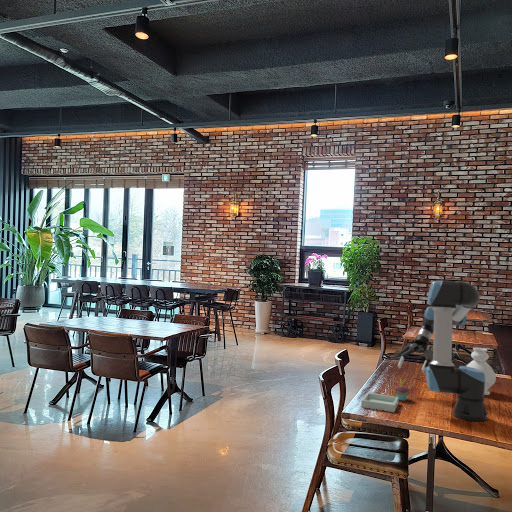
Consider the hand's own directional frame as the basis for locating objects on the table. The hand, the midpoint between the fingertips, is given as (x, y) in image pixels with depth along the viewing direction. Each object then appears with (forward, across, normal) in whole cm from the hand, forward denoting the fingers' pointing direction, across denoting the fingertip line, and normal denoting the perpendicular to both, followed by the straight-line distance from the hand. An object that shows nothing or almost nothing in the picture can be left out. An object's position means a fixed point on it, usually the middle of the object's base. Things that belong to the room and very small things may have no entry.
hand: (410, 369), depth 280 cm
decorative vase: (-18, -24, -39) cm, 49 cm away
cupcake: (+18, 0, -3) cm, 18 cm away
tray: (+32, +2, +11) cm, 34 cm away
